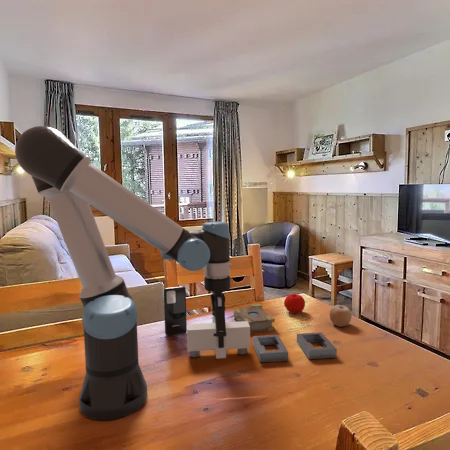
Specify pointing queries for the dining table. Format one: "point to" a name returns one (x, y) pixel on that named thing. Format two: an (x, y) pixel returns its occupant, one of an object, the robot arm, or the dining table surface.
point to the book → (255, 318)
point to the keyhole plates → (302, 340)
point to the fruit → (340, 315)
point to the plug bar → (205, 340)
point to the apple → (294, 303)
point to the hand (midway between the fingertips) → (219, 346)
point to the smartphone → (175, 310)
